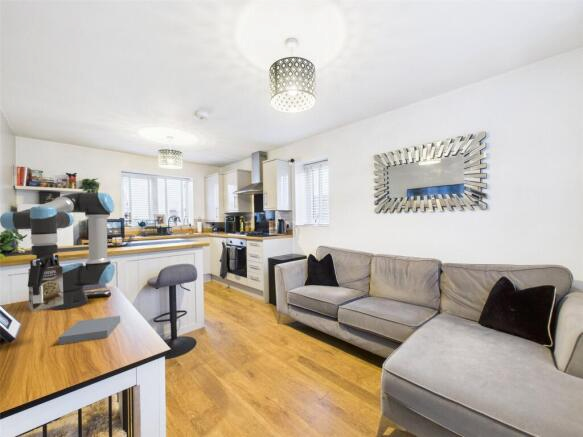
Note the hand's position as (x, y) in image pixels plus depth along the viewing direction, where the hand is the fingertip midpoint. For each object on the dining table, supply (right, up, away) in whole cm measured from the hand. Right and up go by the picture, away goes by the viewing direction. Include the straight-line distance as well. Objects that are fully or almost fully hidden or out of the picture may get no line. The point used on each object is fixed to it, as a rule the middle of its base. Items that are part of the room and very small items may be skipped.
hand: (46, 298), depth 100 cm
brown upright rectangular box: (0, -4, 0) cm, 4 cm away
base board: (+14, -17, +6) cm, 23 cm away
